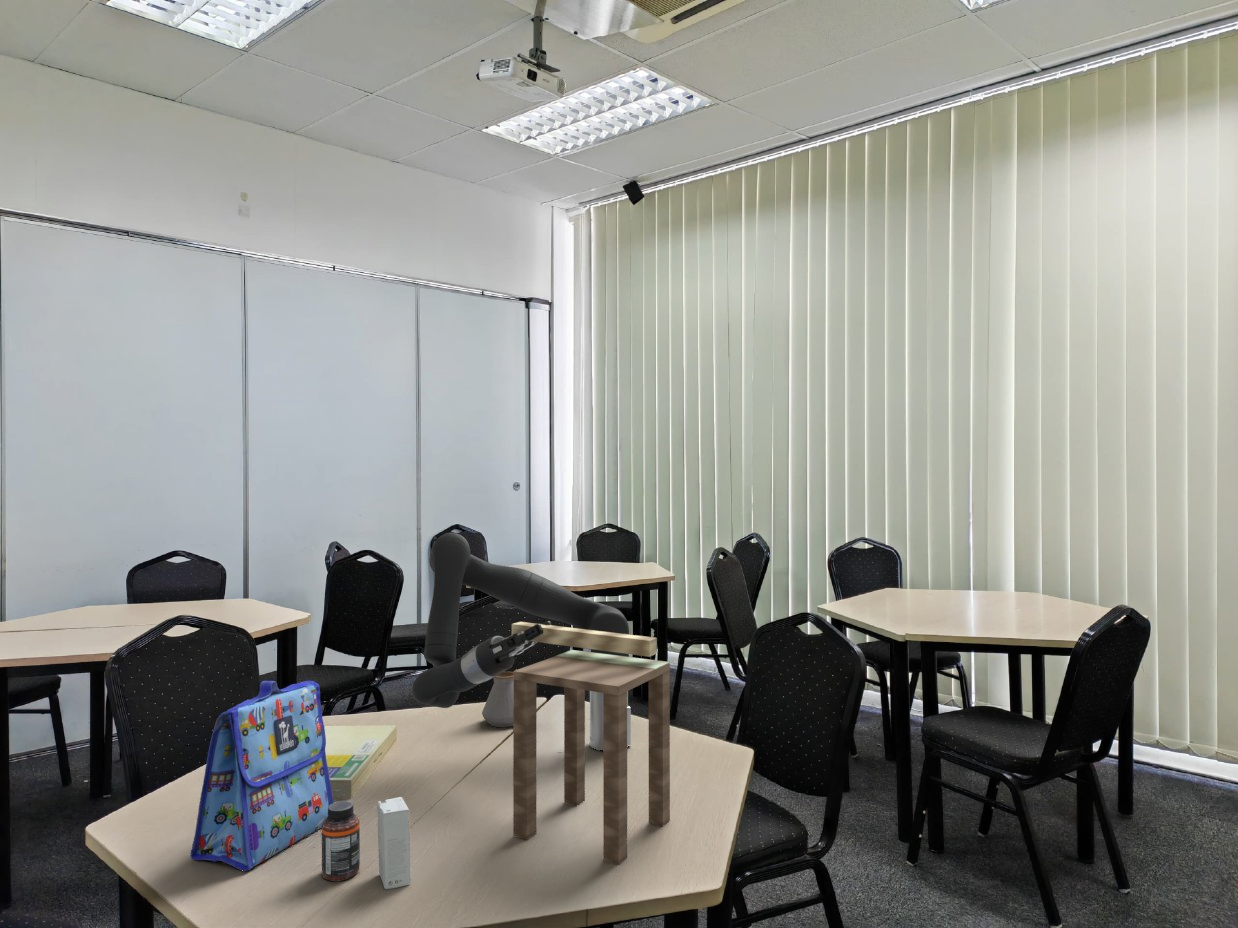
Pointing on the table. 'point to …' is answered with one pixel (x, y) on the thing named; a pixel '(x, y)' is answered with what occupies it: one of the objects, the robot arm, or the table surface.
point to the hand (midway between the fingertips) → (545, 626)
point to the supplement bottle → (340, 842)
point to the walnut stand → (576, 677)
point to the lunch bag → (264, 777)
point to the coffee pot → (500, 701)
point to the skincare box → (394, 843)
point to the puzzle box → (355, 755)
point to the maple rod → (592, 639)
